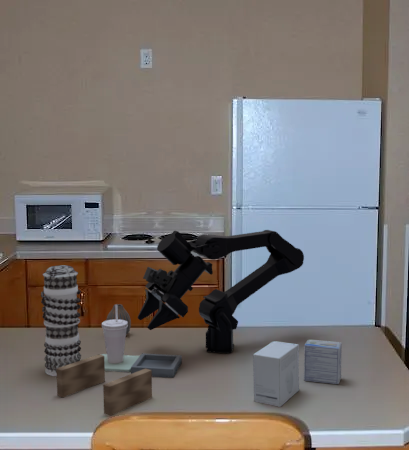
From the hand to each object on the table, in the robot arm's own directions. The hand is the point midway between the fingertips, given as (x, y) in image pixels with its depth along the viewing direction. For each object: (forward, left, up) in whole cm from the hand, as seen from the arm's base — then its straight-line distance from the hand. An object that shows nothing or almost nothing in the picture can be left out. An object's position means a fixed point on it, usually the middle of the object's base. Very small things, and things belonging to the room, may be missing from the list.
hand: (143, 323), depth 160 cm
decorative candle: (+17, +10, -10) cm, 22 cm away
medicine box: (-44, +7, -10) cm, 45 cm away
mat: (+6, +4, -9) cm, 12 cm away
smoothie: (+6, +3, -9) cm, 11 cm away
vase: (+12, -19, -10) cm, 25 cm away
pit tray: (-5, +6, -9) cm, 12 cm away
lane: (+3, +24, -9) cm, 26 cm away
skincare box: (-34, +18, -10) cm, 39 cm away
